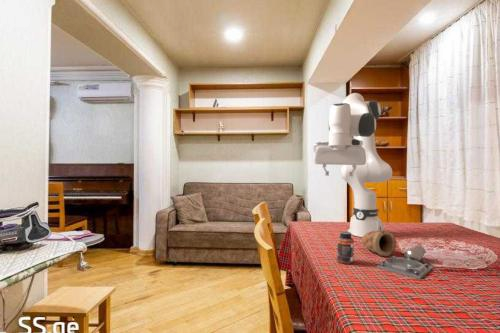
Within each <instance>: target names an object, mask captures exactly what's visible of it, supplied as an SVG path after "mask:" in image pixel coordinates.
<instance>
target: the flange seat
mask: <svg viewBox="0 0 500 333" xmlns="http://www.w3.org/2000/svg"><path fill="white" fill-rule="evenodd" d="M425 253H426V254H427V251H426V249H425V248H424V247H423V246H421V245H415V246H413V247H412V248H410V249H408V250H406V251H405V252H404V255H403V257H397V256H396V255H392V256H390V257H388V258H387V259H385V260H384V261H382V262H380V263H378V264H377V266H376V268H378V269H382V270H384V271H388V272H392V273H396V274H400V275H403V276H408V277H411V278H415V279H417V280H421V279H422V278H423V277H425V275H427V274H428V273H429V272H430V271H431V270H432V269H433V266H432V265H430V264H429V263H426V262H424V264H423V263H422V262H421V260H422V259H424V258H423V256H424V254H425Z"/></svg>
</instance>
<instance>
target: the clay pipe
mask: <svg viewBox="0 0 500 333" xmlns="http://www.w3.org/2000/svg"><path fill="white" fill-rule="evenodd" d="M361 242H362V245H364V246H365V247H366V249H367V250H369V251H371V252H372V253H374V254H377V255H379V256H381V257H389V256H391V255H392V254H393V253H394V252H395V250H396V247H397V240H396V237H395V235H394V234H393V233H392V232H390V231H389V230H387V229H383V230H382V231H381V230H377V231H371V232H368V233H366V234H365V235H364V236H363V237H361Z"/></svg>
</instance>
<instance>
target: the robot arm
mask: <svg viewBox="0 0 500 333" xmlns="http://www.w3.org/2000/svg"><path fill="white" fill-rule="evenodd" d="M381 113H382V108H381V104H380V102H378V101H377V100H374V99H373V100H369V101H365V99H364V96H362V94H361V93H359V92H358V93H357V92H353V93H350V94H348V95H347V96H346V97H345V98H344V99H343V101H342V102H341V103H334V104H332V105H330V110H329V115H328V116H329V117H328V131H329V132H328V142H327V141H325V142H321V141H319V142H316V143H315V144H314V145H313V152H314V156H313V157H314V160H313V162H314V164H315V165H322V168H323V170H324V172H325V174H324V176H330V171H328V170H327V169H326V168H327V165H335V166H338V165H339V166H341V168H340V176H341V178H342V179H343V181H345V182H346V183H347V184H348V185H349V186H350V188H351V190H352V194H353V202H354V203H353V209H352V216H351V217H350V224H349V228H348V229H347V232H350V233H351V236H352V235H353V236H356V237H358V238H359V237H360V238H362V237H363V236H364V235H365V234H366V233H368V232H371V231H377V230H381V231H382V230H384V226H383V225H384V224H383V221H382V220H381V219H380V218H379V214H378V213H380V209H379V208H377V198H378V197H377V194H376V193H375V191H373V190H372V189H369V188H367V187H366V185H365V184H366V183H377V184H378V183H385V182H388V181H390V180H391V178H392V176H393V169H392V167H391V165H390V164H389V163H387V162H386V161H385V160H383V159H382V158H381V157H380V156H379V153H378V152H377V146H376V139H375V138H376V137H375V132H376V129H377V121H378V120H379V118H380V117H381Z"/></svg>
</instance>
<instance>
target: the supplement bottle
mask: <svg viewBox="0 0 500 333" xmlns="http://www.w3.org/2000/svg"><path fill="white" fill-rule="evenodd" d="M354 242H355V240H354V239H353V238H352V234H351V233H350V232H348V231H340V233H339V237H338V238H337V245H336V247H337V249H336V250H337V252H336V253H337V254H336V255H337V256H336V260H337V262H339V264H340V263H341V264H345V265H350V264H354V253H355V252H354V249H355V248H354V245H355V244H354Z"/></svg>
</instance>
